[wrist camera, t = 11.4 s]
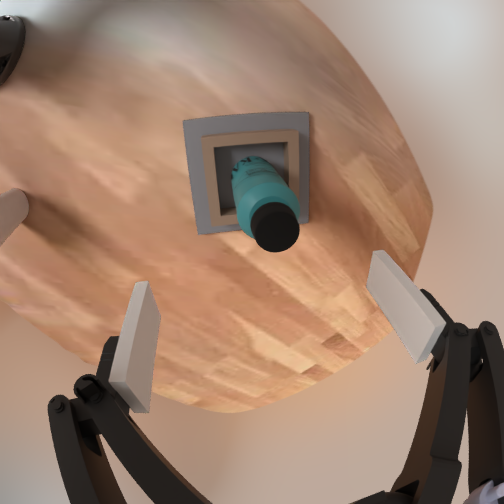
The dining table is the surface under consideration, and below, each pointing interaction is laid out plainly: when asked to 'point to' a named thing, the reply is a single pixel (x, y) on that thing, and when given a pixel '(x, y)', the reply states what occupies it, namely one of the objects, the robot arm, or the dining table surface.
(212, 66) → the dining table surface
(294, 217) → the beverage bottle
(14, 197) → the coffee cup
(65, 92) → the dining table surface
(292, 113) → the bottle stand
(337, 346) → the dining table surface
